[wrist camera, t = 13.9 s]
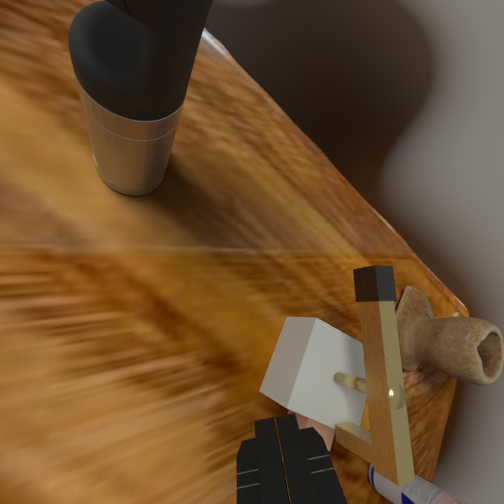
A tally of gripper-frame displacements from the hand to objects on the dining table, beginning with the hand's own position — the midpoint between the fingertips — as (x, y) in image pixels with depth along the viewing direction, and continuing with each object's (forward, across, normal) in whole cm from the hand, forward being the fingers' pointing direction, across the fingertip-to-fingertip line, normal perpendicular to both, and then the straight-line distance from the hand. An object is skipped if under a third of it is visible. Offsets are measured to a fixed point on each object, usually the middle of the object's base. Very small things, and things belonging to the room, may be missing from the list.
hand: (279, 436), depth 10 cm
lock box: (+31, +6, -20) cm, 38 cm away
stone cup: (+41, +29, -24) cm, 56 cm away
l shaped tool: (+25, +10, -15) cm, 31 cm away
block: (+26, +5, -25) cm, 37 cm away
